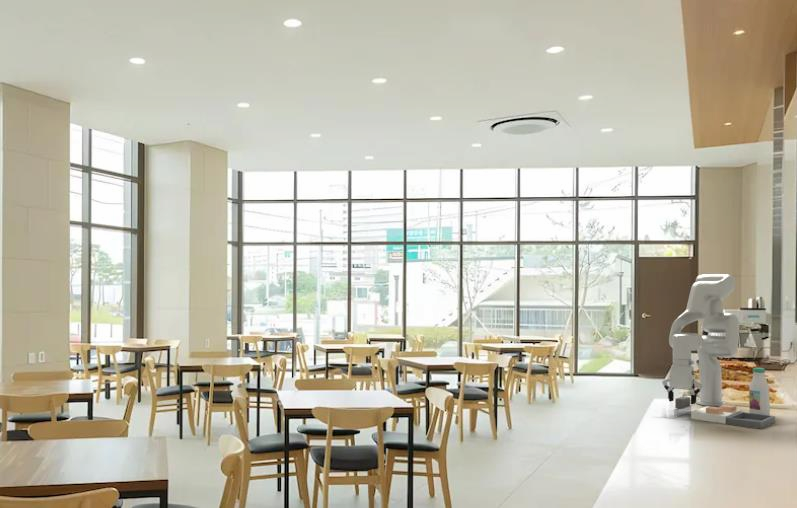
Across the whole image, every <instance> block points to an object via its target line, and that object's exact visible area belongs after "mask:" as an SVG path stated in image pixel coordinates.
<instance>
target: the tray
mask: <svg viewBox="0 0 797 508" xmlns="http://www.w3.org/2000/svg"><path fill="white" fill-rule="evenodd" d="M775 423H776V416H775V415H771V414H770V415H762V414H754V413H750V412H744V411H740V413H737V414H735V415H732V416H730V417H727V423H726V424H727V425H731V426H740V427H747V428H754V429H759V430H761V429H764V428H766V427H768V426H771V425H772V424H775Z"/></svg>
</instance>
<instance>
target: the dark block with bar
mask: <svg viewBox="0 0 797 508" xmlns="http://www.w3.org/2000/svg"><path fill="white" fill-rule="evenodd" d="M674 402H675V409H673V416H674V417H676V416H677V417H679V416H680V417H681V416H682V415H686V414H688V413H691V412H692V404H691V396H680V397H678V398H675V400H674Z"/></svg>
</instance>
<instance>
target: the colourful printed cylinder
mask: <svg viewBox="0 0 797 508" xmlns="http://www.w3.org/2000/svg"><path fill="white" fill-rule="evenodd" d="M752 374H753V376H752V378H751V381H750V383H749V387H748V389H749V391H748V392H749V394H748V397H749V399H748V401H749V413H754V414H762V415H770V416H771V413H770V412H771V409H770V408H771V406H770V405H771V404H770V403H771V402H770V400H771V399H770V387H769V383H768V381H767V379H766V378H765V374H766V370H765V368H764V367H753V368H752Z"/></svg>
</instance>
